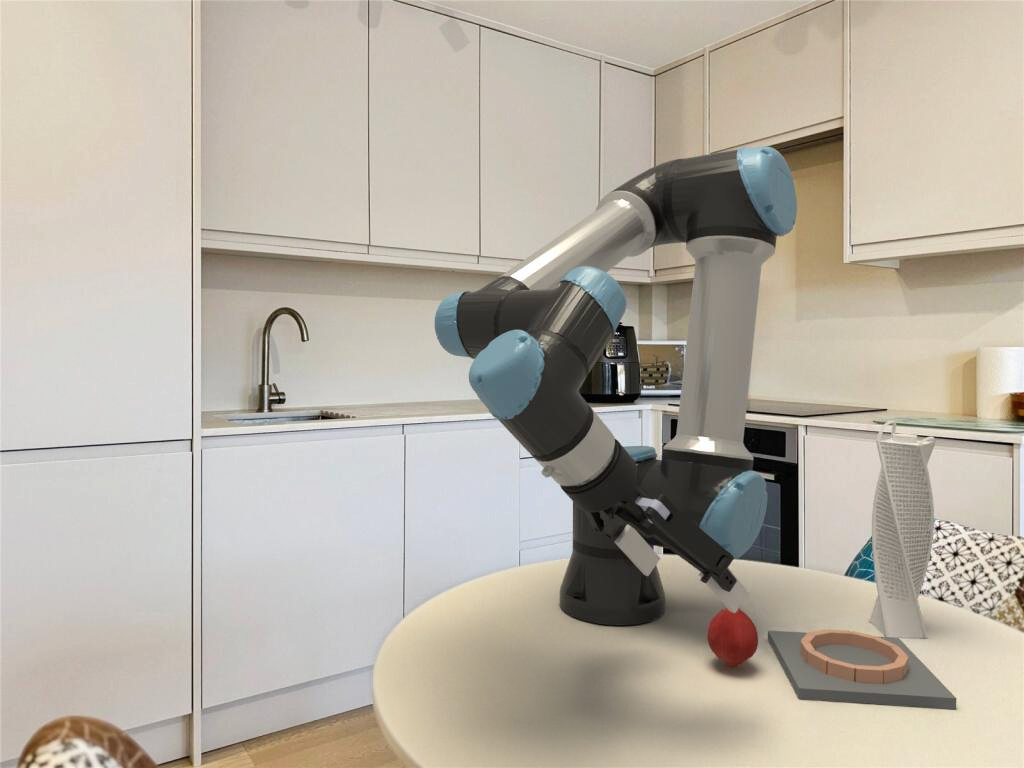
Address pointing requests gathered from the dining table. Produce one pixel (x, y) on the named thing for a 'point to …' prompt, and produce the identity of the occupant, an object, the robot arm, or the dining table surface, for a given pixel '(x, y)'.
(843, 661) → the dock
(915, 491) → the skyscraper
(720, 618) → the red rounded fruit
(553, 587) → the dining table surface
